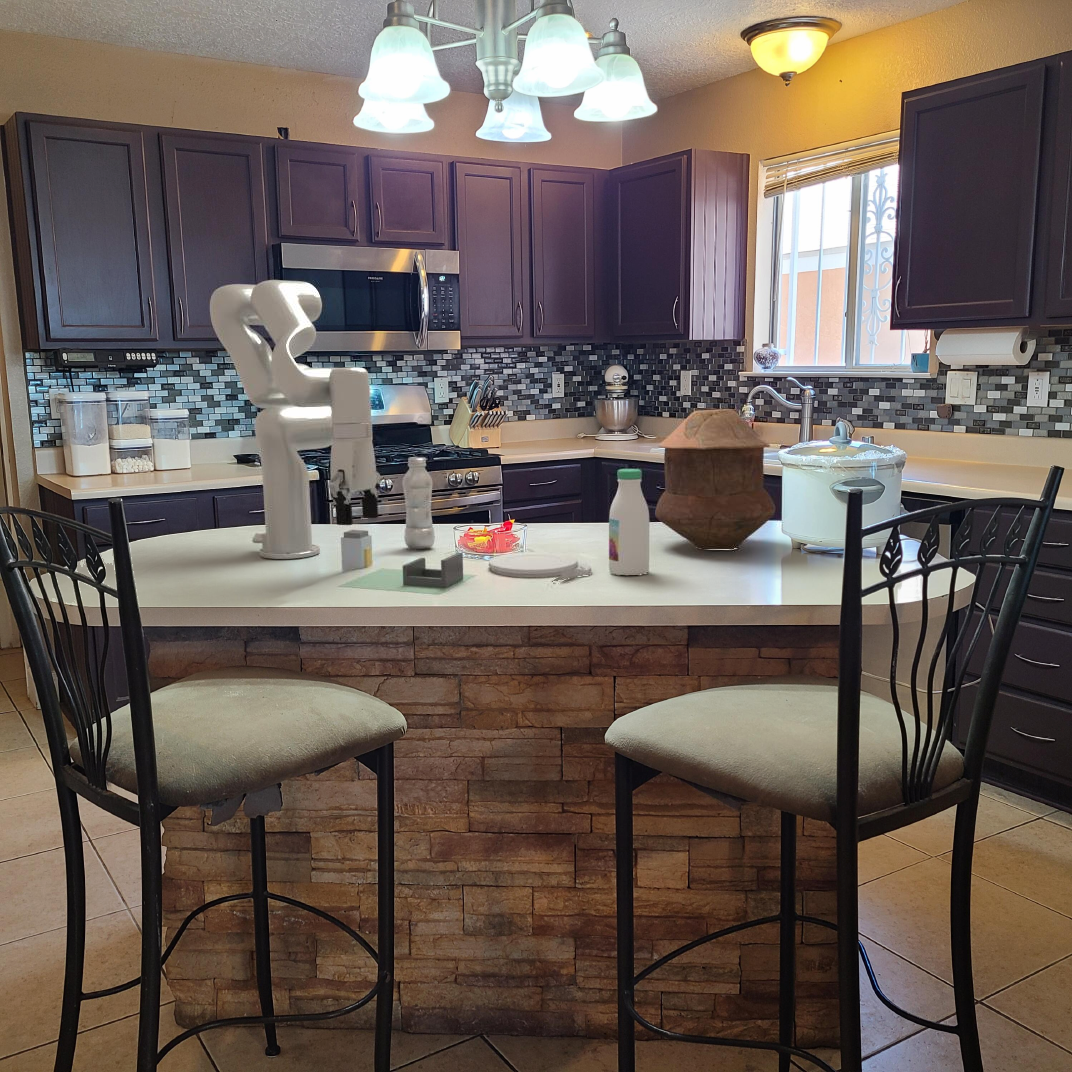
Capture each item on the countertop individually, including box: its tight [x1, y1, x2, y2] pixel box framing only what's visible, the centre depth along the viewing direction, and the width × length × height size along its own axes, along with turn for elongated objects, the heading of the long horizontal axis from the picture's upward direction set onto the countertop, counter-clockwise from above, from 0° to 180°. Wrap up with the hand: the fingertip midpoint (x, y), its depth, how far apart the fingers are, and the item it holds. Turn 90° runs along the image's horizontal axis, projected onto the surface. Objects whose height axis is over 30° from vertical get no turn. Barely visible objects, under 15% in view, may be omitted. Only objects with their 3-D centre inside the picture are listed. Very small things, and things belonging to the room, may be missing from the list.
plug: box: [340, 529, 373, 574], centre depth 194 cm, size 5×4×8 cm
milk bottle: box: [608, 468, 650, 576], centre depth 190 cm, size 8×8×20 cm
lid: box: [488, 551, 592, 583], centre depth 191 cm, size 17×20×3 cm
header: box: [402, 552, 464, 588], centre depth 179 cm, size 8×7×5 cm
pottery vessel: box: [654, 408, 776, 550], centre depth 213 cm, size 26×26×30 cm
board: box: [337, 568, 477, 595], centre depth 181 cm, size 20×16×1 cm
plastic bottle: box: [401, 456, 436, 550], centre depth 216 cm, size 6×7×20 cm
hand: (358, 521), depth 192 cm, fingers open, 9 cm apart
